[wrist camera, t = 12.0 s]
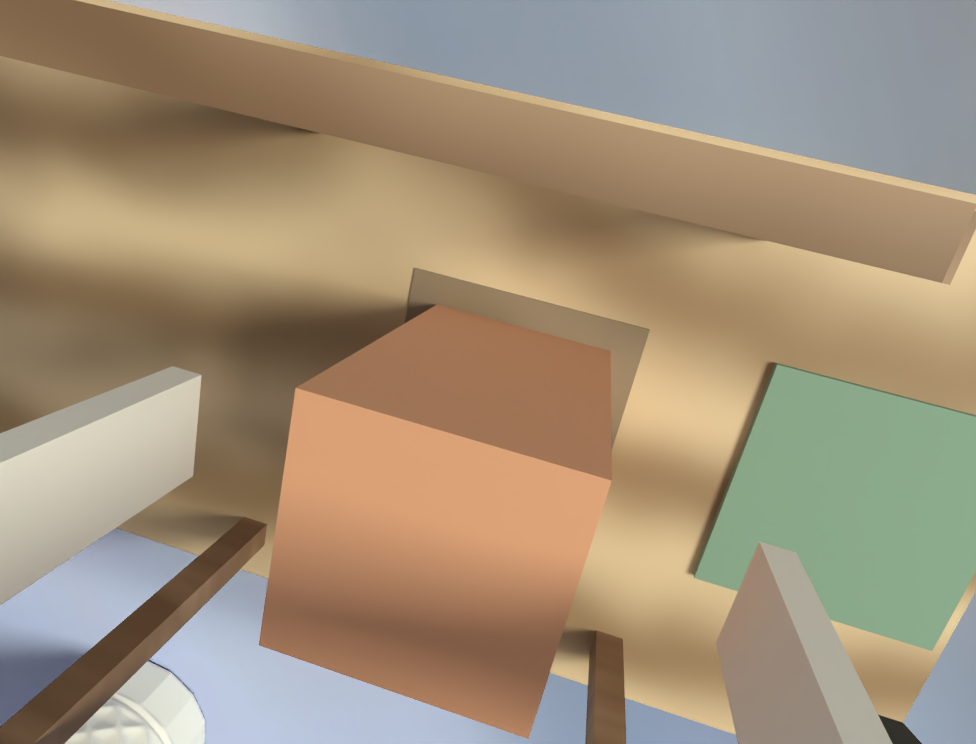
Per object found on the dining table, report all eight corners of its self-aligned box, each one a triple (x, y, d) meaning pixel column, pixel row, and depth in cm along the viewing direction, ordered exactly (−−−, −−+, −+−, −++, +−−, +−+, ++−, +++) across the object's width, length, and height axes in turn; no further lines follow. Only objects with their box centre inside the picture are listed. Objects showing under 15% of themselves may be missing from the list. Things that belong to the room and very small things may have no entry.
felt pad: (927, 645, 21) (932, 651, 21) (692, 573, 22) (694, 578, 22) (1043, 432, 19) (1050, 436, 18) (774, 362, 20) (777, 364, 19)
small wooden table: (858, 751, 24) (1107, 1302, 12) (3, 470, 28) (-442, 666, 16) (1136, 236, 18) (2189, 304, 6) (-3, -20, 22) (-710, -277, 10)
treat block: (563, 508, 22) (528, 738, 13) (404, 460, 23) (258, 645, 13) (610, 350, 20) (612, 480, 11) (437, 304, 21) (295, 388, 12)
